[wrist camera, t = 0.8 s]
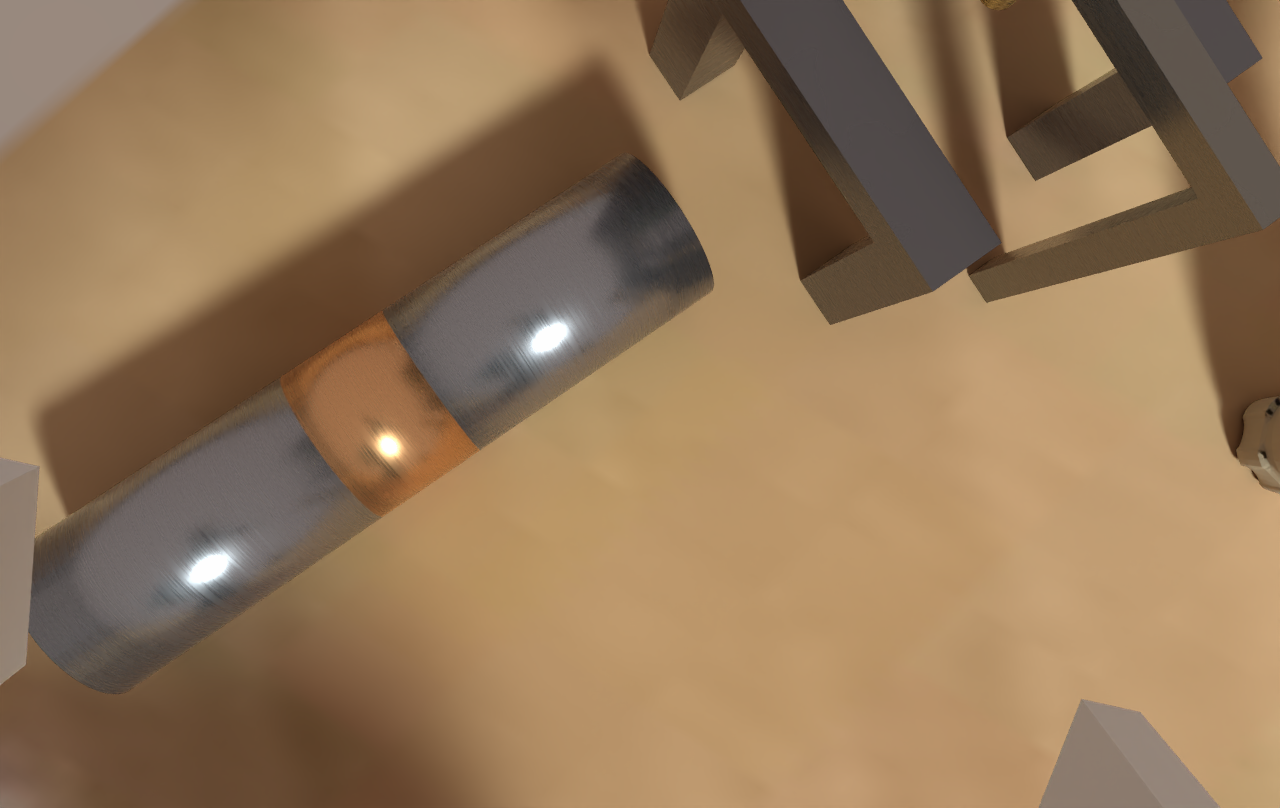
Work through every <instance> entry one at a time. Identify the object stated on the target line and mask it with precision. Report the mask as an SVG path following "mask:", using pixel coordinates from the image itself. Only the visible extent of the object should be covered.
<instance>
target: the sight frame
mask: <svg viewBox="0 0 1280 808" xmlns="http://www.w3.org/2000/svg"><path fill="white" fill-rule="evenodd" d="M1016 1H1017V0H981V2H982V3H983V4H984V5H985V6H987V7H988V8H990V9H993V10H1003V9H1006V8H1008V7H1010V6H1011V5H1012V4H1014V3H1015V2H1016ZM1072 1H1073V3H1074V4H1075V6H1076V7H1077V9H1078V11H1079V12H1080V14H1081V15H1082V17H1083V18H1084V20H1085V21H1086V23H1087V25H1088V26H1089V28H1090V29H1091V31H1092V32H1093V34H1094V36H1095V37H1096V39H1097V40H1098V42H1099V43H1100V45H1101V46H1102V48H1103V50H1104V51H1105V53H1106V54H1107V56H1108V57H1109V59H1110V61H1111V62H1112V64H1113V65H1114V67H1115V68H1116V70H1117V71H1118V73H1119V75H1120V76H1121V78H1122V79H1123V81H1124V82H1125V84H1126V86H1127V87H1128V89H1129V90H1130V92H1131V93H1132V95H1133V96H1134V98H1135V100H1136V101H1137V103H1138V104H1139V106H1140V107H1141V109H1142V111H1143V112H1144V114H1145V115H1146V117H1147V118H1148V120H1149V121H1150V123H1151V125H1152V126H1153V128H1154V129H1155V131H1156V132H1157V134H1158V136H1159V137H1160V139H1161V140H1162V142H1163V143H1164V145H1165V146H1166V148H1167V150H1168V151H1169V153H1170V154H1171V156H1172V157H1173V159H1174V161H1175V162H1176V164H1177V165H1178V167H1179V168H1180V170H1181V171H1182V173H1183V175H1184V176H1185V178H1186V179H1187V181H1188V182H1189V184H1190V186H1191V188H1188V189H1186V190H1183V191H1180V192H1177V193H1174V194H1172V195H1169V196H1166V197H1163V198H1160V199H1157V200H1155V201H1152V202H1149V203H1146V204H1143V205H1141V206H1138V207H1135V208H1132V209H1129V210H1126V211H1124V212H1121V213H1118V214H1115V215H1112V216H1110V217H1107V218H1104V219H1101V220H1098V221H1096V222H1093V223H1090V224H1087V225H1084V226H1081V227H1079V228H1076V229H1073V230H1070V231H1067V232H1065V233H1062V234H1059V235H1056V236H1053V237H1050V238H1048V239H1045V240H1042V241H1039V242H1036V243H1034V244H1031V245H1028V246H1025V247H1022V248H1020V249H1017V250H1014V251H1011V252H1008V253H1005V254H1003V255H1000V256H997V257H994V258H993V259H991V260H990V261H989V262H987V263H986V264H984V265H983V266H981V267H980V268H979V269H977V270H976V271H974V272H973V273H972V274H970V275H969V277H970V278H971V280H972V281H973V283H974V284H975V286H976V287H977V289H978V290H979V292H980V293H981V295H982V296H983V298H984V299H985V301H986V302H991V301H995V300H998V299H1002V298H1006V297H1010V296H1014V295H1017V294H1021V293H1025V292H1029V291H1033V290H1036V289H1040V288H1044V287H1048V286H1051V285H1055V284H1059V283H1063V282H1067V281H1070V280H1074V279H1078V278H1082V277H1086V276H1089V275H1093V274H1097V273H1101V272H1105V271H1108V270H1112V269H1116V268H1120V267H1123V266H1127V265H1131V264H1135V263H1139V262H1142V261H1146V260H1150V259H1154V258H1158V257H1161V256H1165V255H1169V254H1173V253H1176V252H1180V251H1184V250H1188V249H1192V248H1195V247H1199V246H1203V245H1207V244H1211V243H1214V242H1218V241H1222V240H1226V239H1229V238H1233V237H1237V236H1241V235H1245V234H1248V233H1252V232H1256V231H1260V230H1263V229H1265V228H1266V227H1267V226H1269V225H1270V224H1271V223H1273V222H1274V221H1276V220H1277V219H1278V218H1280V167H1279V165H1278V163H1277V162H1276V160H1275V159H1274V157H1273V156H1272V154H1271V152H1270V151H1269V149H1268V148H1267V146H1266V145H1265V143H1264V141H1263V140H1262V138H1261V137H1260V135H1259V133H1258V132H1257V130H1256V129H1255V127H1254V126H1253V124H1252V122H1251V121H1250V119H1249V118H1248V116H1247V115H1246V113H1245V111H1244V110H1243V108H1242V107H1241V105H1240V103H1239V102H1238V100H1237V99H1236V97H1235V96H1234V94H1233V92H1232V91H1231V89H1230V88H1229V86H1228V85H1227V83H1226V81H1225V80H1224V78H1223V77H1222V75H1221V73H1220V72H1219V70H1218V69H1217V67H1216V66H1215V64H1214V62H1213V61H1212V59H1211V58H1210V56H1209V55H1208V53H1207V51H1206V50H1205V48H1204V47H1203V45H1202V43H1201V42H1200V40H1199V39H1198V37H1197V36H1196V34H1195V32H1194V31H1193V29H1192V28H1191V26H1190V25H1189V23H1188V21H1187V20H1186V18H1185V17H1184V15H1183V14H1182V12H1181V10H1180V9H1179V7H1178V6H1177V4H1176V2H1175V1H1174V0H1072Z"/></svg>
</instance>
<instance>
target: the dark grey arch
mask: <svg viewBox="0 0 1280 808" xmlns="http://www.w3.org/2000/svg"><path fill="white" fill-rule="evenodd" d="M744 48H745V49H746V50H747V52H748V53H749V55H750V56H751V58H752V59H753V61H754V62H755V64H756V65H757V67H758V68H759V70H760V71H761V73H762V74H763V76H764V77H765V79H766V80H767V82H768V83H769V85H770V86H771V88H772V89H773V91H774V92H775V94H776V95H777V97H778V98H779V100H780V101H781V103H782V104H783V106H784V107H785V109H786V110H787V112H788V113H789V115H790V116H791V118H792V119H793V121H794V122H795V124H796V125H797V127H798V129H799V130H800V132H801V133H802V135H803V136H804V138H805V139H806V141H807V142H808V144H809V145H810V147H811V148H812V150H813V151H814V153H815V154H816V156H817V157H818V159H819V160H820V162H821V163H822V165H823V166H824V168H825V169H826V171H827V172H828V174H829V175H830V177H831V178H832V180H833V181H834V183H835V184H836V186H837V187H838V189H839V190H840V192H841V193H842V195H843V196H844V198H845V199H846V201H847V202H848V204H849V205H850V207H851V208H852V210H853V211H854V213H855V214H856V216H857V218H858V219H859V221H860V222H861V224H862V225H863V227H864V228H865V230H866V231H867V233H868V234H869V236H867V237H865V238H863V239H862V240H860V241H858V242H856V243H854V244H853V245H851V246H850V247H848V248H847V249H845V250H844V251H843V252H841V253H840V254H838V255H837V256H835V257H834V258H832V259H831V260H830V261H828V262H827V263H825V264H824V265H822V266H821V267H819V268H818V269H817V270H815V271H814V272H812V273H811V274H809V275H808V276H806V277H805V278H804V279H802V280H801V282H802V284H803V285H804V287H805V288H806V290H807V291H808V293H809V294H810V296H811V297H812V299H813V300H814V302H815V303H816V305H817V306H818V308H819V309H820V311H821V312H822V313H823V315H824V316H825V318H826V319H827V321H828V322H829V324H830V325H832V324H835V323H838V322H841V321H844V320H847V319H850V318H853V317H856V316H859V315H862V314H865V313H869V312H872V311H875V310H878V309H881V308H884V307H887V306H890V305H893V304H896V303H899V302H902V301H905V300H909V299H912V298H915V297H918V296H921V295H924V294H927V293H930V292H933V291H934V290H936V289H937V288H939V287H940V286H941V285H943V284H944V283H946V282H947V281H949V280H950V279H951V278H953V277H954V276H956V275H957V274H958V273H960V272H961V271H963V270H964V269H965V268H967V267H968V266H970V265H971V264H973V263H974V262H975V261H977V260H978V259H980V258H981V257H982V256H984V255H985V254H987V253H988V252H989V251H991V250H992V249H994V248H995V247H997V246H998V245H999V244H1001V241H1000V240H999V238H998V237H997V235H996V234H995V232H994V231H993V229H992V228H991V226H990V224H989V223H988V221H987V220H986V218H985V217H984V215H983V214H982V212H981V211H980V209H979V208H978V206H977V205H976V203H975V202H974V200H973V199H972V197H971V195H970V194H969V192H968V191H967V189H966V188H965V186H964V185H963V183H962V182H961V180H960V179H959V177H958V176H957V174H956V173H955V171H954V169H953V168H952V166H951V165H950V163H949V162H948V160H947V159H946V157H945V156H944V154H943V153H942V151H941V150H940V148H939V147H938V145H937V144H936V142H935V140H934V139H933V137H932V136H931V134H930V133H929V131H928V130H927V128H926V127H925V125H924V124H923V122H922V121H921V119H920V118H919V116H918V114H917V113H916V111H915V110H914V108H913V107H912V105H911V104H910V102H909V101H908V99H907V98H906V96H905V95H904V93H903V92H902V90H901V89H900V87H899V85H898V84H897V82H896V81H895V79H894V78H893V76H892V75H891V73H890V72H889V70H888V69H887V67H886V66H885V64H884V63H883V61H882V60H881V58H880V56H879V55H878V53H877V52H876V50H875V49H874V47H873V46H872V44H871V43H870V41H869V40H868V38H867V37H866V35H865V34H864V32H863V30H862V29H861V27H860V26H859V24H858V23H857V21H856V20H855V18H854V17H853V15H852V14H851V12H850V11H849V9H848V8H847V6H846V5H845V3H844V1H843V0H668V3H667V6H666V9H665V11H664V14H663V17H662V20H661V23H660V26H659V29H658V32H657V35H656V37H655V40H654V43H653V46H652V49H651V52H650V57H651V58H652V59H653V61H654V62H655V64H656V65H657V67H658V68H659V70H660V71H661V73H662V74H663V76H664V77H665V79H666V80H667V82H668V83H669V85H670V86H671V88H672V89H673V91H674V92H675V94H676V95H677V97H678V98H679V100H682V99H683V98H685V97H686V96H688V95H689V94H691V93H692V92H694V91H695V90H697V89H698V88H700V87H702V86H703V85H705V84H706V83H708V82H709V81H711V80H712V79H714V78H715V77H717V76H718V75H720V74H721V73H723V72H725V71H726V70H728V69H729V68H731V67H732V66H734V65H735V63H736V62H737V60H738V58H739V57H740V55H741V53H742V51H743V50H744Z"/></svg>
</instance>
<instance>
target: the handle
mask: <svg viewBox="0 0 1280 808" xmlns="http://www.w3.org/2000/svg"><path fill="white" fill-rule="evenodd" d="M1243 420H1244V431H1243V436H1242V440H1241V443H1240V445H1239V447H1238V448H1237V449H1236V452H1237V456H1238V459H1239V462H1240V464H1241V465H1243V466H1247V467H1249V468H1250V469H1251V470H1253V472H1254V473H1255V474H1256V476H1257V477H1258V479H1259V484H1260V485H1261V486H1262V487H1263V488H1264V489H1267V490H1269V491H1272V492H1275V493H1278V494H1280V396H1276V397H1270V398H1264V399H1260V400H1257V401H1255V402H1253V403H1252V404H1251V405H1249V406H1248V408H1247V409H1246V411H1245V413H1244V415H1243Z"/></svg>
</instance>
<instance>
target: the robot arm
mask: <svg viewBox="0 0 1280 808" xmlns="http://www.w3.org/2000/svg"><path fill="white" fill-rule="evenodd" d="M38 480H39V466H35V465H31V464H26V463H22V462H17V461H13V460H9V459H4V458H0V685H1V684H2V683H4V682H5V681H6V680H7V679H9V678H10V677H11V676H12V675H14V674H15V673H16V672H18V671H19V670H20V669H21V668H23V667H24V666H25V665H26V658H27V643H28V628H29V613H30V599H31V584H32V569H33V554H34V540H35V525H36V510H37V495H38ZM1039 808H1220V807H1219V805H1218V804H1217V803H1216V802H1215V801H1214V799H1213V798H1212V797H1211V796H1210V795H1209V793H1208V792H1207V791H1206V790H1205V789H1204V788H1203V786H1202V785H1201V784H1200V783H1199V782H1198V780H1197V779H1196V778H1195V777H1194V776H1193V774H1192V773H1191V772H1190V771H1189V770H1188V768H1187V767H1186V766H1185V765H1184V764H1183V762H1182V761H1181V760H1180V759H1179V758H1178V756H1177V755H1176V754H1175V753H1174V752H1173V751H1172V749H1171V748H1170V747H1169V746H1168V745H1167V743H1166V742H1165V741H1164V740H1163V739H1162V737H1161V736H1160V735H1159V734H1158V733H1157V731H1156V730H1155V729H1154V728H1153V727H1152V725H1151V724H1150V723H1149V722H1148V721H1147V719H1146V718H1145V717H1144V716H1143V715H1142V714H1141V712H1138V711H1133V710H1129V709H1124V708H1120V707H1115V706H1111V705H1106V704H1102V703H1097V702H1093V701H1088V700H1084V699H1081V701H1080V704H1079V707H1078V709H1077V712H1076V714H1075V717H1074V719H1073V722H1072V724H1071V727H1070V729H1069V732H1068V734H1067V737H1066V739H1065V742H1064V745H1063V747H1062V750H1061V752H1060V755H1059V757H1058V760H1057V762H1056V765H1055V767H1054V770H1053V772H1052V775H1051V777H1050V780H1049V783H1048V785H1047V788H1046V790H1045V793H1044V795H1043V798H1042V800H1041V803H1040V805H1039Z"/></svg>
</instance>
